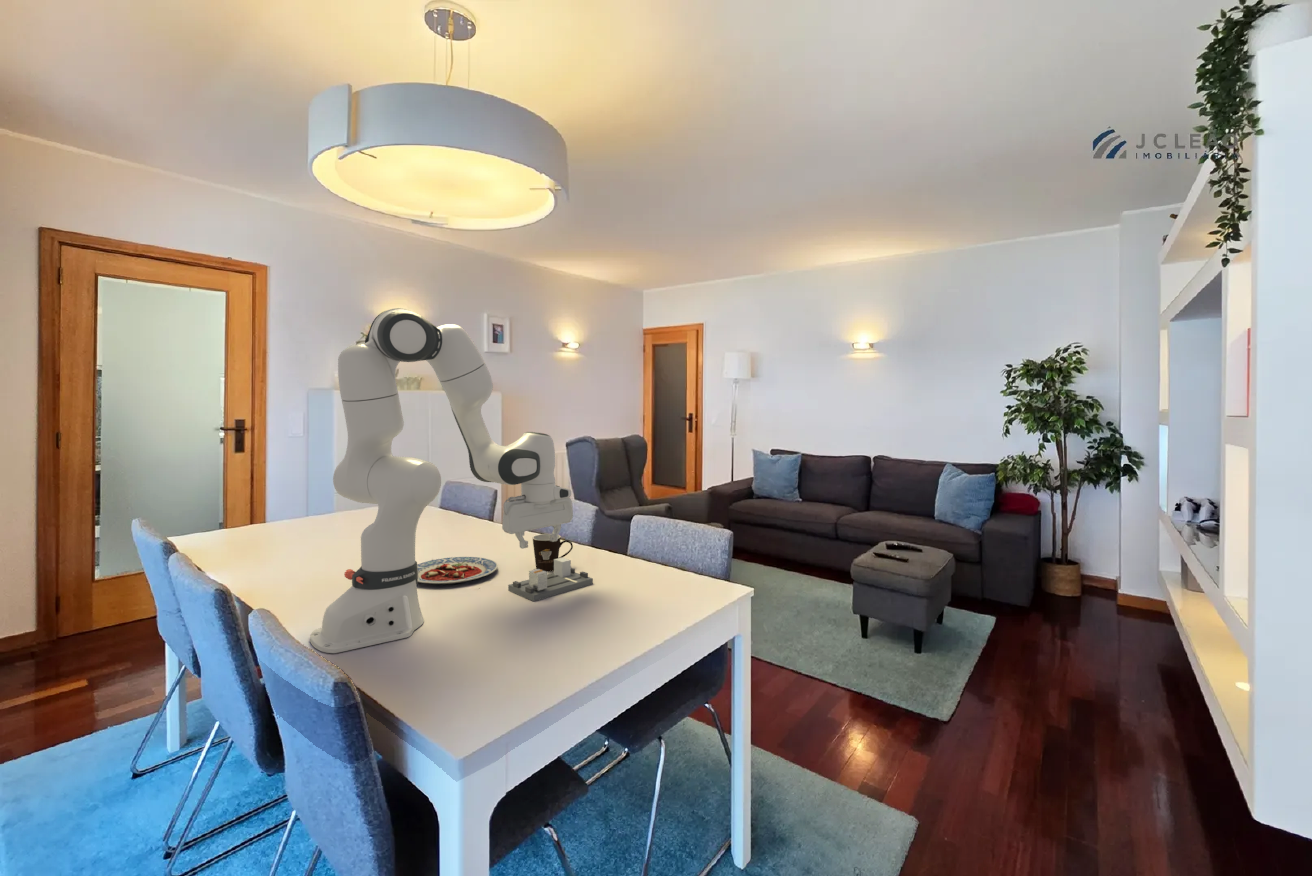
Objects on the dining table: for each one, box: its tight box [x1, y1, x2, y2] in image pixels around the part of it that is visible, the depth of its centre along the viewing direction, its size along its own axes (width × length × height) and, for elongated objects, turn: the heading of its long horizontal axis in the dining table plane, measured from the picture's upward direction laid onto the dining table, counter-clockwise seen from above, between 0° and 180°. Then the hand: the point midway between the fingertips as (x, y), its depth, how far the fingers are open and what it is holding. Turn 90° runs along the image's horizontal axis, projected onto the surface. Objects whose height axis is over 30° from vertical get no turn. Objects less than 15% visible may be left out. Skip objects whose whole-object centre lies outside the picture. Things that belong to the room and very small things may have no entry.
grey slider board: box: [507, 557, 594, 602], centre depth 153 cm, size 20×12×6 cm, turn 137°
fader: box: [528, 568, 548, 591], centre depth 146 cm, size 3×4×5 cm
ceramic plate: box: [417, 556, 499, 585], centre depth 163 cm, size 26×26×3 cm
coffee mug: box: [532, 533, 574, 573], centre depth 169 cm, size 12×9×10 cm
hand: (539, 544), depth 145 cm, fingers open, 8 cm apart
